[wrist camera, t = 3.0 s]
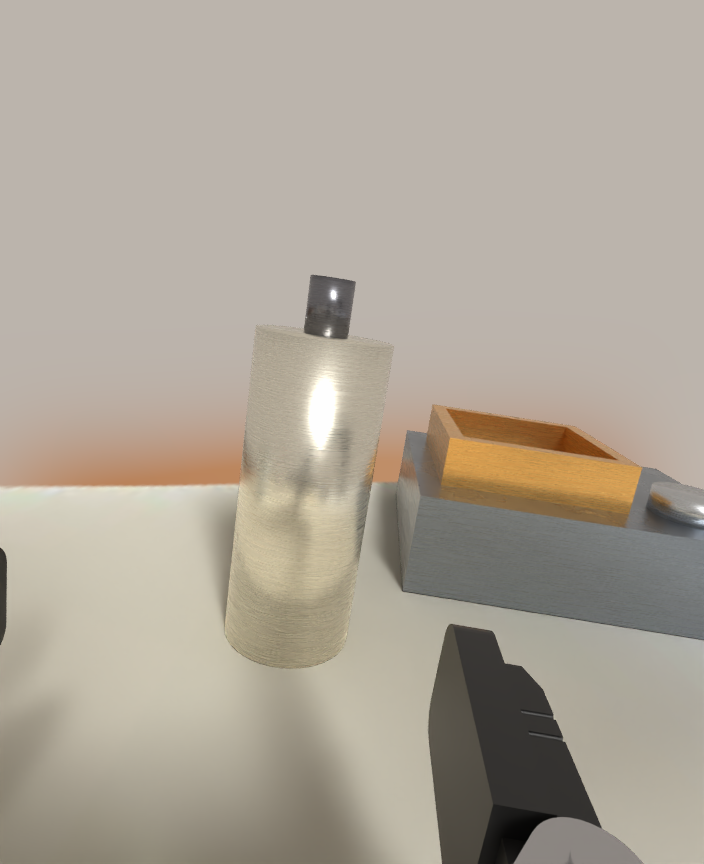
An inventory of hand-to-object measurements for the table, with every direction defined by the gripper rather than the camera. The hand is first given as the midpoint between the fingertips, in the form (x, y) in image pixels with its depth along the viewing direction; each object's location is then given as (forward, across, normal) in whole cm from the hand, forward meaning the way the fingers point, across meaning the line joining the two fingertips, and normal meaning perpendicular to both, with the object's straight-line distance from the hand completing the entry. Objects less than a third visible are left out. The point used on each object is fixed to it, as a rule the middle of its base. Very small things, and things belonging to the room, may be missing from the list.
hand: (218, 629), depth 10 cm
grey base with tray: (+23, -14, +7) cm, 28 cm away
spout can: (+11, 0, +7) cm, 13 cm away
